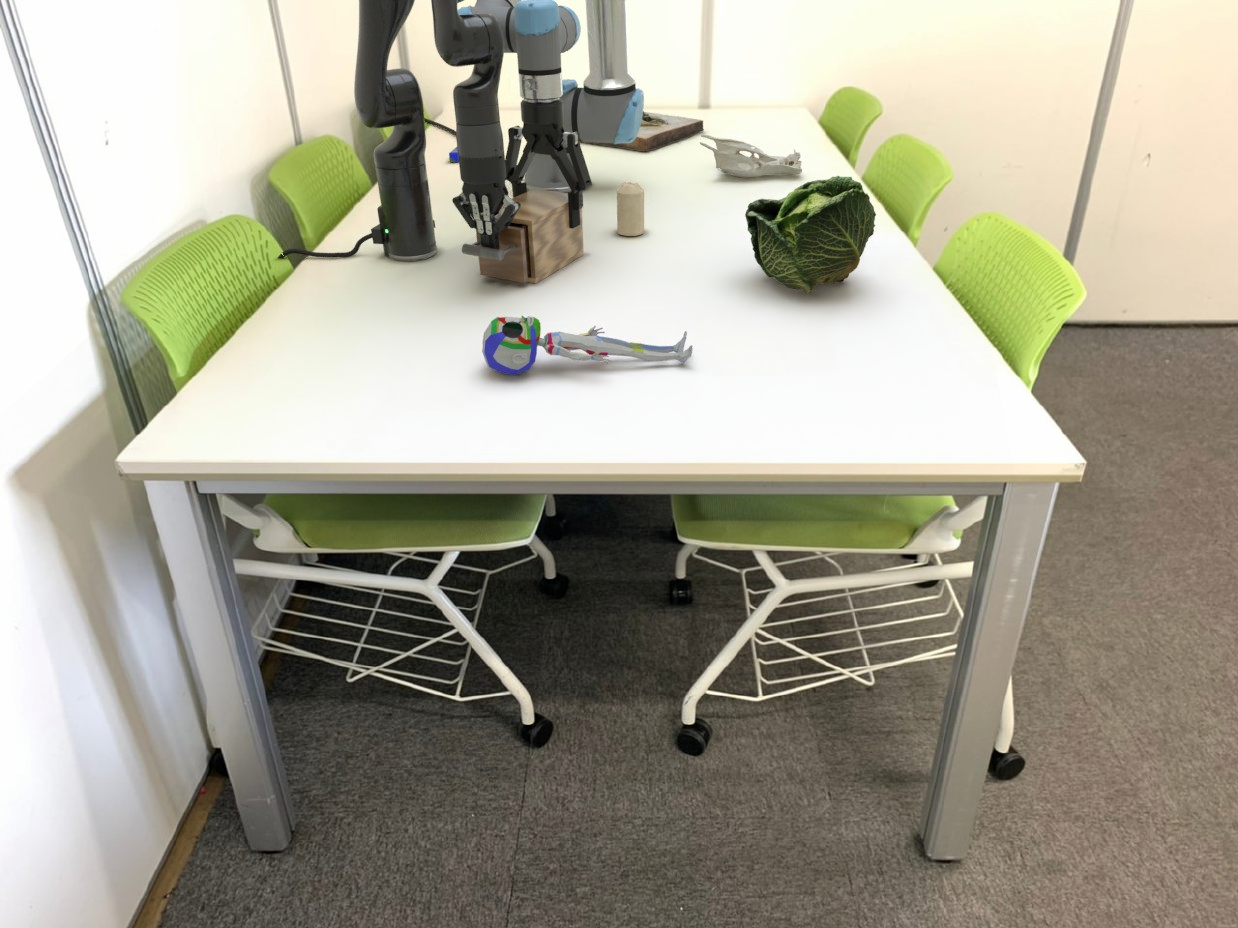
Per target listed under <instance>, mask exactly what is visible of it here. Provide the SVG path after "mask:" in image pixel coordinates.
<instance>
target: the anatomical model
mask: <svg viewBox="0 0 1238 928" xmlns="http://www.w3.org/2000/svg"><path fill="white" fill-rule="evenodd" d="M701 138H705V139H707V140H708V139H709V140H711V141H713V142H714V143H715V146H716V147H712V146H710V145H709V144H707V143H704V142H702V141H699V145H700V146H702V147H705V148H706V149H708V150H711V151H712V152H713V157H714V160H715V169H720V172H722V173H723V174H729V175H731V176H733V177H735V178H757V177H761V176H767V175H768V176H770V175H778V176H779V175H781V176H795V175H800V174H801V173H803V169H802V167H801V166H802V160H800V159H801V153H800V152H797V151H796V149H793V153H790V154H788V155H787V156H780V155H779V156H778V155H770V154H767V153H765V152H764V150H762V149H760V148H759V147H758V146H755V145H752V144H750V143H747V142H744V141H741V140H737V139H732V138H720V137H717V136H711V135H708V134H705V133H702V134H701ZM741 152H748V153H750V154H751V155H750V156H747V155H744V154H743V153H741ZM755 154H756V155H757V156H758V157H756V156H755Z"/></svg>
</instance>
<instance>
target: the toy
mask: <svg viewBox="0 0 1238 928" xmlns="http://www.w3.org/2000/svg"><path fill="white" fill-rule="evenodd" d="M596 328H597V326H596V325H594V326H593V327H591V328H590V329H589V330H588V332H584V333H579V334H573V333H569V332H562V331H550V332H547V333H546V334H545V335H544V336H543V337H541V330H542V327H541V322H540V320H539V319H538V318H536V317H535V316H531V315H528V316H527V317H525V316H524V315H521V317H516V316H504V317H503V316H502V317H499V316H496V317H495V318H494V319H492V320H491V321H490V322H489V324H488V326H487V328H486V329H485V331H484V332H483V337H482V348H481V353H482V355H483V358H484V360H485V363H486V366H487V367H488V368H491V369H492V370H494V371H496V372H497V373H502V374H505V375H513V376H517V375H520V374H522V373H525V372H527V371H529V370H530V369H531V367H532V366H533V365H534V364H535V363H536V358H537V354H538V347H542V348H543V349H544V351H545V352H546V354H548V355H550V356H559V357H562V358H567V359H571V360H573V361H578V362H581V361H582V362H583V361H596V362H601V363H605V364H609V363H608V362H612V360H611V359H607V358H610V356H618V357H631V358H634V359H639V360H642V361H646V362H665V361H672V360H677V361H679V362H680V363H683V364H685V363H686V362H687V361H688V360H689V359H690V358H691V357H692V355H693V348H694V347H693V345H691V344H690V345H689V347H687V349H685V345H686V342H687V341H686V340H687V336H688V332H687V330H686V331H684V333H683V336H682V337H681V339H680V340H679V341H678V342H676V344H674V345H656V344H655V345H654V344H645V343H641V342H633V341H632V342H629V341H626V340H622V339H617V338H612V337H608V336H607V337H606V336H600V335H599V334H605V331H600V330H603V329H604V328H603V327H600V328H597V329H596ZM579 350H581V351H583V352H585V353H583V352H577V351H579Z"/></svg>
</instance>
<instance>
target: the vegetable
mask: <svg viewBox="0 0 1238 928" xmlns="http://www.w3.org/2000/svg"><path fill="white" fill-rule="evenodd" d="M870 199H871V198H870V195H869V193H868V192H867V193H866V192H865V190H864V188H863V185H862V183H861V181H857V180H854V179H853V177H852V176H840V175H836V176H831V177H830V178H828V179H816V180H812V181H807V182H805V183H803V184H802V185H800V186H798V187H796V188H794V190H792V191H790V192H788V193H787V195H786V196H785V197H783V198H779V199H772V198H759V199H756V200H754V201H752V202H750V203H749V204H748V205H747V209H746V211H745V214H744V216H745V221H746V223H747V232H748V233H749V234H750V236H751V237H750V242H751V246H752V251H753V252H754V255H753V257H754V259H755V261H756V263H757V264H758V265H759V267H760V268H761V270H762V271H763V273H764V274H765V275H766V276H767V278H773V279H774V280H775V281H776V282H778V283H779V284H781V285H783V286H785V287H787V288H790V289H793V290H801V291H804V292H806V294H810V292H815V289H814V287H816V286H817V285H819V284H829V285H833V284H834V283H842V282H843V283H844V281H845V280H847V279H848V278H849V276H850V274H851V273H853V272H854V271H855V270H856V269H857V268H858V266H859V264H860V262H861V258H862V256H863V253H864V251H865V248H866V245H867V243H868V241H869V239H870V238H871V237H872V236H873V235H874V232H875V226H876V224H875V221H876V216H877V213H876V211H875V207H874V205H873V204H872V202H871V201H870Z"/></svg>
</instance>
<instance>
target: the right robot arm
mask: <svg viewBox="0 0 1238 928" xmlns="http://www.w3.org/2000/svg"><path fill="white" fill-rule="evenodd" d="M457 9H458V13H459V15H467V14H476V13H488V14H491V15H492V16H494V17H495V18H496V19H497V21H498V22H499V24H500V26H501V28H502V31H503V35H504V54H516V56H517V57H516V58H517V71H518V84H519V96H520V98H522V100H521V102H520V103H519V104H520V116H521V117H520V118H521V121H522V123H523V125H522V127H521V126H520V125H515V126H512V127H509V128H508V129H507V133H508V134H507V135H508V144H507V149H506V153H505V166H506V179H505V181H507V182H509V183H510V184H511V190H512V198H514V197H517V196H519V195H521V194H523V193H525V192H527V191H530V190H532V189H538V190H545V191H552V192H560V193H567V194H568V206H569V228H572V229H573V228H575V227H577V226H579V225H580V209H582V210H583V208H584V195H583V194H584V191H585V190H586V191H587V190H588V189H590V188H591V187H592V186H593V182H592V178H591V175H590V173H589V169H588V166H587V162H586V159H585V156H584V153H583V150H582V147H581V143H585V142H595V143H614V144H617V143H631V142H633V141H634V140H635V139H636V137H637V135H638V132H639V129H640V125H641V121H642V115H643V111H644V105H645V96H644V95H645V93H644V91H643V89H640V88H639V87H637V85H636V78H635V77H634V76H633V75H632V74H631V73H630V72H629V54H628V52H629V51H628V20H627V19H628V18H627V16H628V15H627V0H585V16H586V34H587V35H586V36H587V49H588V50H587V51H588V67H589V68H588V69H589V74H588V75H587V76H586V77H585V79H584V80H583V83H582V84H583V87H579V86H578V85H579V84H578V82H577V80H576V79H569V78H567V79H563V75H562V74H563V71H562V54H563V53H566V52H569V51H570V50H571V49H572V48H573V47H574V46H575V45H576V44H577V42H578V41H579V39H580V36H581V32H582V31H581V30H582V27H581V21H580V19H579V16H578V15H577V13H576V12H575V11H574V10H573V9H572V8H570V7H568V6H566V5H558V3H557V1H555V0H476V2H475V3H474V6H472V5H468V6H461V7H460V8H457ZM424 122H425V123H428V124H431V125H434V126H435V127H439V128H441V129H442V130H445V131H448V132H449V133H451V134H453V135H455V136H456V130H454V129H452V128H451V127H448V126H446V125H444V124H441V123H439V122H436V121H434V120H432V119H429V118H426V117H424ZM522 139H524V140H525V141H526V143H525V146H524V147H523V150H522V155H521V156H520V158H519V155H520V151H521V147H522ZM518 160H519V161H518Z"/></svg>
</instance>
